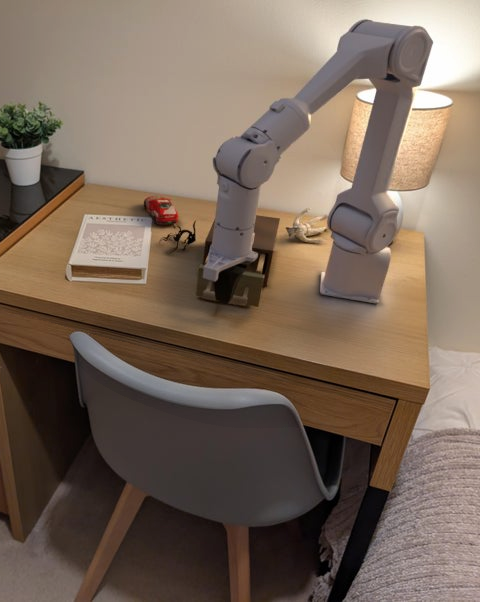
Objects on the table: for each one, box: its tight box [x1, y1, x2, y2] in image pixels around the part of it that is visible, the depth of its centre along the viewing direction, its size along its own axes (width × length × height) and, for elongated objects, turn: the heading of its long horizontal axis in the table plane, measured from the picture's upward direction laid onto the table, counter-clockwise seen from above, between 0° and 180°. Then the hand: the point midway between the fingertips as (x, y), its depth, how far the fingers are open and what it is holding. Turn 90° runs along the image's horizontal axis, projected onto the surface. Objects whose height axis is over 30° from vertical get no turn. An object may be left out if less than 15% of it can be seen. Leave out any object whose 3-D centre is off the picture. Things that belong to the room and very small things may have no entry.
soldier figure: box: [285, 207, 330, 244], centre depth 118 cm, size 8×5×12 cm
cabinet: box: [202, 214, 281, 287], centre depth 108 cm, size 14×12×7 cm
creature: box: [158, 220, 197, 254], centre depth 115 cm, size 8×5×8 cm
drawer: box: [195, 251, 266, 308], centre depth 99 cm, size 18×11×6 cm, turn 159°
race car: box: [143, 195, 179, 226], centre depth 129 cm, size 13×5×4 cm, turn 9°
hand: (223, 300), depth 90 cm, fingers closed
